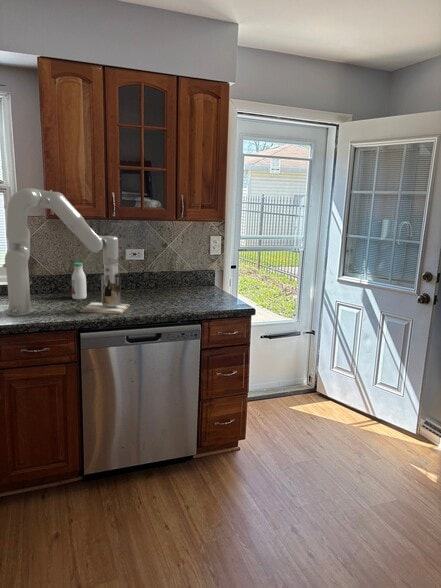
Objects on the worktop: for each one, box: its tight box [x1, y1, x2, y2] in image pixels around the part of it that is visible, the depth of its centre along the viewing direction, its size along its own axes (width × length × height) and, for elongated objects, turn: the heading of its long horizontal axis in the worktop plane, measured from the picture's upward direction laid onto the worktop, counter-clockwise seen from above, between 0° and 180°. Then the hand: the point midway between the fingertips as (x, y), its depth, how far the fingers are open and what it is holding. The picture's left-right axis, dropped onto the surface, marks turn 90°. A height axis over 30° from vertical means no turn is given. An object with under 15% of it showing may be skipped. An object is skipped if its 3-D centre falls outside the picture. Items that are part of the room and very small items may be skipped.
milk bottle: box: [71, 262, 87, 300], centre depth 235 cm, size 8×8×20 cm
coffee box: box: [100, 272, 122, 306], centre depth 216 cm, size 9×6×16 cm
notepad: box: [79, 301, 131, 315], centre depth 219 cm, size 17×21×1 cm
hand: (110, 294), depth 217 cm, fingers closed on coffee box, 8 cm apart
